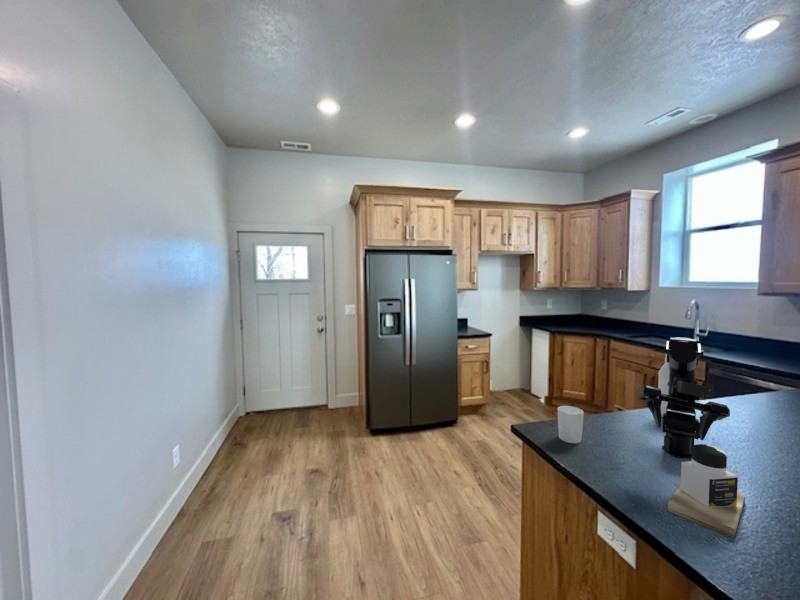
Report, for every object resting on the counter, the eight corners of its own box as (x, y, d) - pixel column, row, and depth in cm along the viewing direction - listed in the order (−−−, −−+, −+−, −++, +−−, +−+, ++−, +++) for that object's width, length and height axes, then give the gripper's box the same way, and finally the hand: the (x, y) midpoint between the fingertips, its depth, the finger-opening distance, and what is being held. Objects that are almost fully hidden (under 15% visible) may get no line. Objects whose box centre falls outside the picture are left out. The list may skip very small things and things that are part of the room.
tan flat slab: (685, 481, 90) (686, 474, 89) (745, 502, 81) (745, 494, 81) (667, 511, 78) (668, 502, 78) (734, 538, 70) (734, 528, 70)
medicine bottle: (709, 509, 76) (711, 456, 75) (679, 489, 83) (681, 441, 82) (737, 506, 76) (739, 454, 76) (706, 487, 84) (707, 440, 83)
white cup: (586, 445, 110) (587, 415, 110) (560, 443, 112) (560, 413, 111) (578, 434, 118) (579, 406, 117) (554, 433, 119) (555, 405, 119)
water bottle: (652, 414, 136) (654, 352, 135) (669, 413, 136) (670, 352, 135) (667, 421, 129) (669, 356, 128) (685, 420, 129) (687, 356, 128)
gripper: (652, 359, 93) (648, 414, 87) (740, 378, 85) (743, 441, 79) (639, 372, 102) (635, 423, 96) (718, 391, 94) (719, 448, 88)
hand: (680, 433), depth 90 cm, fingers open, 9 cm apart
